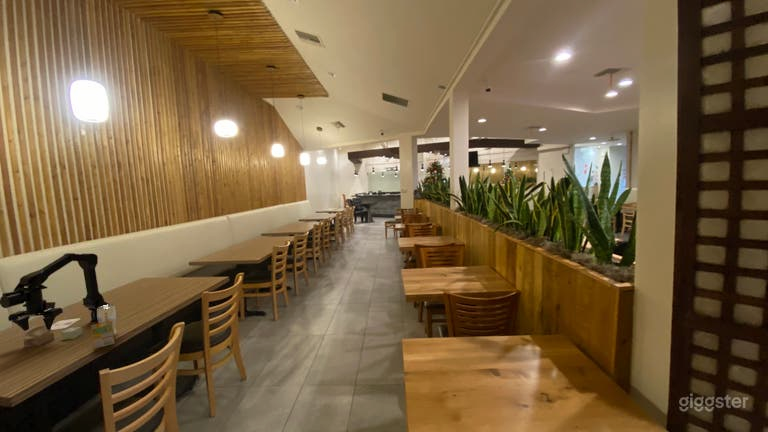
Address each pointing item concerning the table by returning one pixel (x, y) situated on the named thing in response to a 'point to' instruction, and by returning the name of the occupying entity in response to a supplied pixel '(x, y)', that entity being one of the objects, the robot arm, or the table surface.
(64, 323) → the page
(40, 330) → the maple brick
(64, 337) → the sage brick
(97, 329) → the crayon box
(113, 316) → the beer glass
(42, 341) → the walnut base brick
